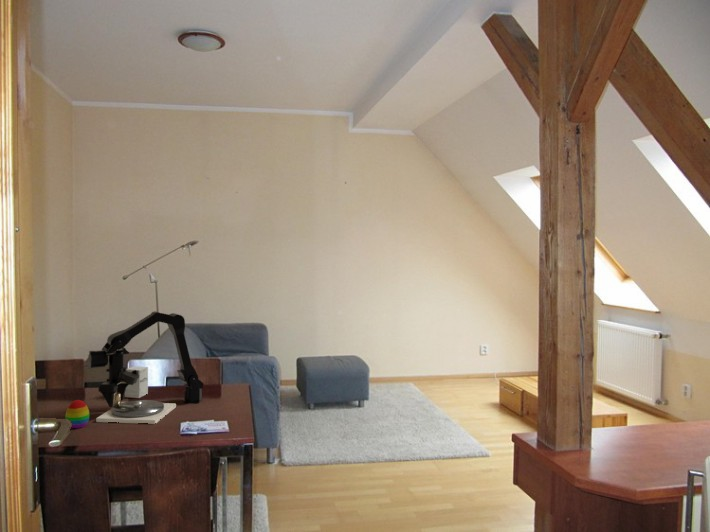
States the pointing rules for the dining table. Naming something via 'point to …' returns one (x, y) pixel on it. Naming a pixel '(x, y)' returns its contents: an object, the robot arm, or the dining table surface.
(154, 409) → the handwheel
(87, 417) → the decorative egg
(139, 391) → the supplement box
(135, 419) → the base plate
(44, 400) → the dining table surface
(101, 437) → the dining table surface
